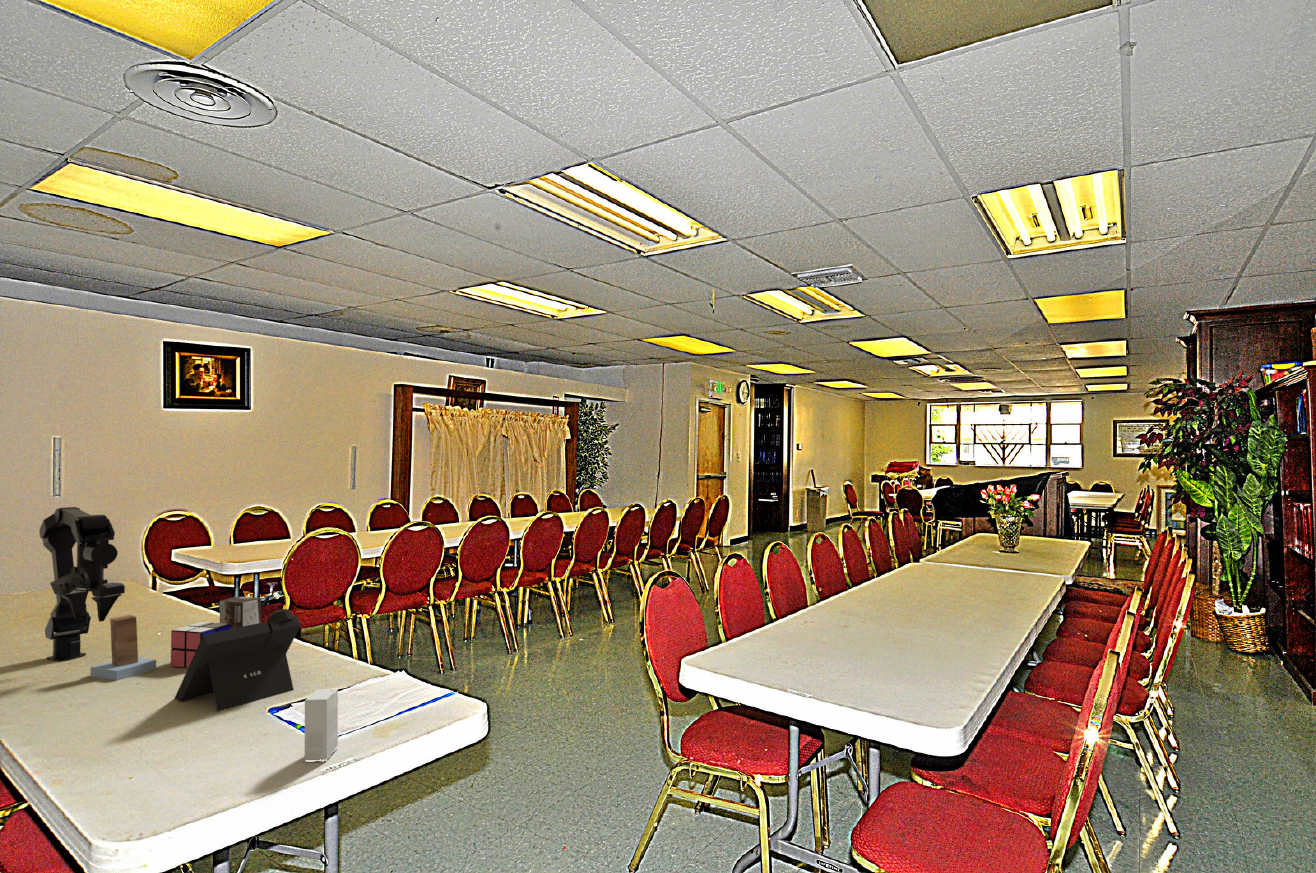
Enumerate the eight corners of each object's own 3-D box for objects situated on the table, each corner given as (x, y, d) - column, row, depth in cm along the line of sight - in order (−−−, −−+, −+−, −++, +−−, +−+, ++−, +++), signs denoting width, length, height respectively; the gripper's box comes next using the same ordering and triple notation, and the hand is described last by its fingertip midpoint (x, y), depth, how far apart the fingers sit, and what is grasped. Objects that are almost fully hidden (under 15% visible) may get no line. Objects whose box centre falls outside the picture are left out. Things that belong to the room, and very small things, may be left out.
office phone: (274, 661, 198) (275, 589, 198) (331, 680, 182) (332, 602, 182) (154, 690, 174) (155, 608, 174) (207, 715, 158) (209, 625, 158)
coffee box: (261, 653, 204) (262, 597, 205) (242, 659, 198) (242, 602, 199) (238, 650, 207) (238, 595, 208) (218, 656, 201) (218, 599, 202)
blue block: (90, 678, 184) (90, 666, 184) (130, 667, 193) (130, 656, 193) (117, 682, 180) (117, 670, 180) (156, 670, 190) (156, 659, 190)
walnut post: (112, 663, 187) (110, 618, 186) (131, 658, 190) (130, 614, 190) (118, 666, 184) (116, 620, 184) (138, 661, 188) (136, 616, 187)
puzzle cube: (200, 669, 190) (201, 632, 190) (169, 667, 192) (170, 630, 192) (230, 658, 200) (230, 623, 200) (200, 656, 202) (200, 621, 202)
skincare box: (315, 749, 140) (316, 688, 140) (338, 748, 140) (338, 688, 140) (303, 763, 134) (303, 699, 134) (326, 762, 134) (327, 699, 134)
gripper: (32, 564, 186) (31, 624, 185) (81, 568, 180) (80, 629, 179) (79, 558, 196) (78, 615, 196) (126, 561, 190) (125, 619, 190)
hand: (89, 619), depth 190 cm, fingers open, 9 cm apart
